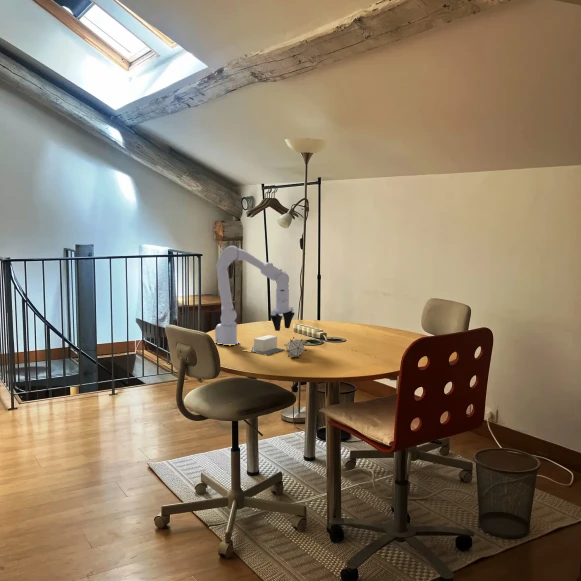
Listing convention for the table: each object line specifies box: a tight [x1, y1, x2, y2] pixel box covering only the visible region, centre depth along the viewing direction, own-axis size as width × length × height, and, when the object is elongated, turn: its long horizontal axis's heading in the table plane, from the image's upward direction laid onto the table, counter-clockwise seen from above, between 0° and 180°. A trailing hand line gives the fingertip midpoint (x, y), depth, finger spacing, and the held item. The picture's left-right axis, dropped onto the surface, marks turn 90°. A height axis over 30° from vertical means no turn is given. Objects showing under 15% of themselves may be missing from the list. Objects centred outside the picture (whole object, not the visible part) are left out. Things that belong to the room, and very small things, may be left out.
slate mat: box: [250, 346, 285, 356], centre depth 264 cm, size 14×12×1 cm
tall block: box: [253, 334, 278, 352], centre depth 265 cm, size 5×5×10 cm
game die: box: [284, 336, 308, 360], centre depth 252 cm, size 9×8×10 cm
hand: (282, 329), depth 275 cm, fingers open, 7 cm apart
